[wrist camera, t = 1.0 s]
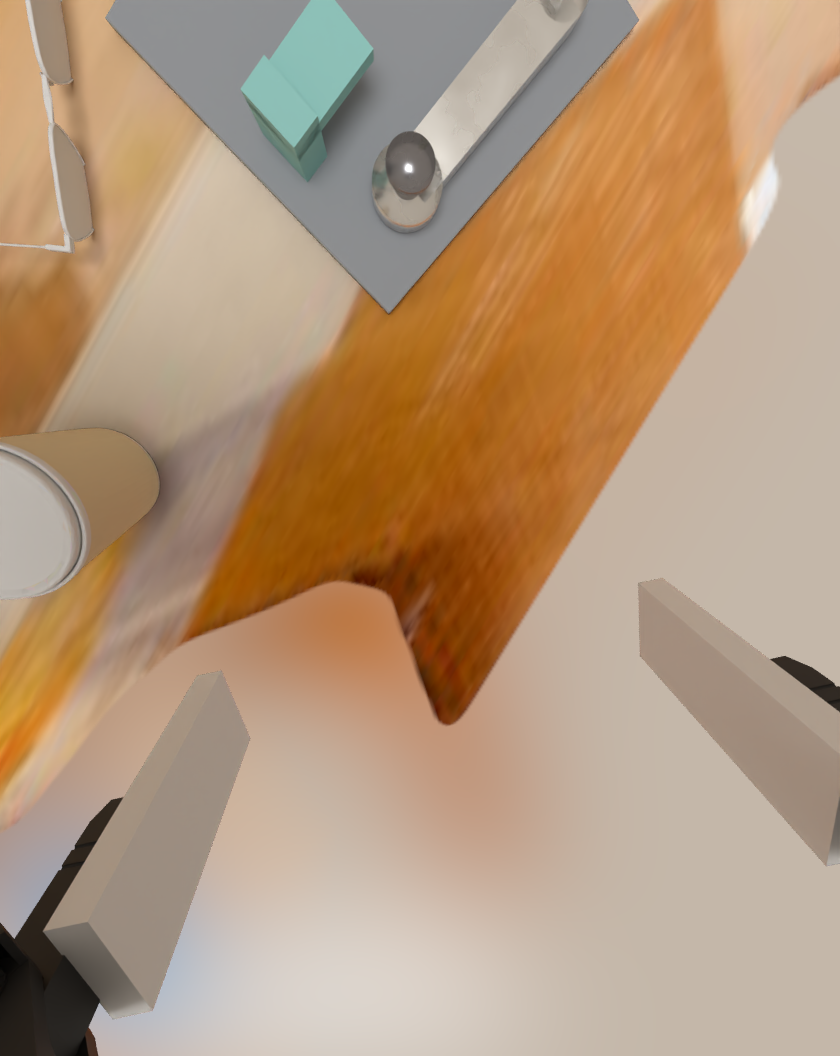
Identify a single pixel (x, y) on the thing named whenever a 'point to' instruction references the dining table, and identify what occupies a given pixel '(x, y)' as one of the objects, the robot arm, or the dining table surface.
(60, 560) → the coffee cup
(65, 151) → the eyeglasses
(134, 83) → the dining table surface
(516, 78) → the link
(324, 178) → the board
